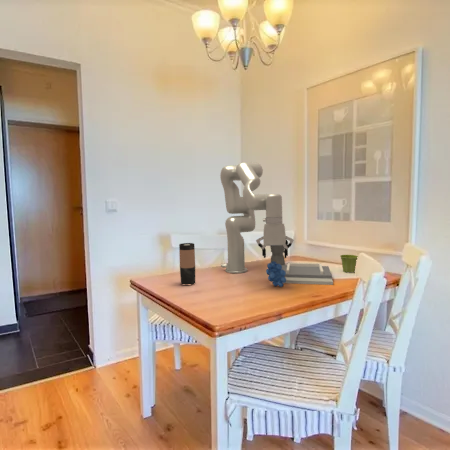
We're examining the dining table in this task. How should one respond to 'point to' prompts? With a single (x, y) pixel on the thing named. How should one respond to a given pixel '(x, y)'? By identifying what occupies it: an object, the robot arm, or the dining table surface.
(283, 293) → the dining table surface
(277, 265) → the grapes
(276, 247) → the coffeepot
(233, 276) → the dining table surface
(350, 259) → the plant pot
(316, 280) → the dock
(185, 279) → the travel mug
